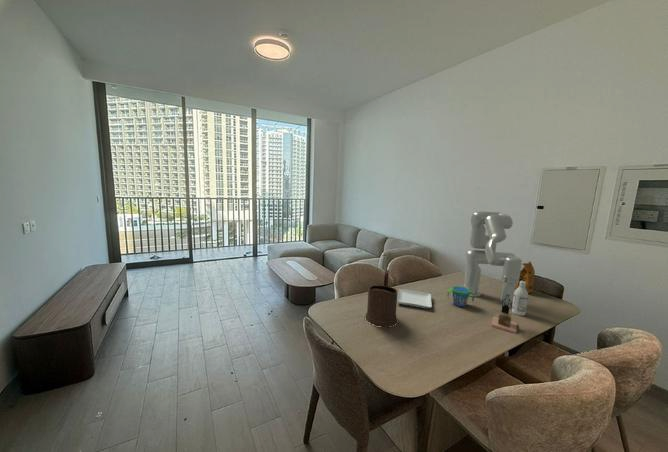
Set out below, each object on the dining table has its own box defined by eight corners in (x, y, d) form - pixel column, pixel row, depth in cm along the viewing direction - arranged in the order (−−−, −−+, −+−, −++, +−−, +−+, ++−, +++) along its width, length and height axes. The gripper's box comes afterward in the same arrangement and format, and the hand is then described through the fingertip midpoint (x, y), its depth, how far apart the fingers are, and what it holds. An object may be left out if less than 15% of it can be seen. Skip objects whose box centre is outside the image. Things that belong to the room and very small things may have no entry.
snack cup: (471, 303, 169) (473, 288, 167) (474, 310, 159) (476, 294, 157) (446, 298, 174) (447, 284, 173) (446, 305, 164) (448, 290, 163)
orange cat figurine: (511, 290, 193) (515, 261, 189) (519, 287, 199) (523, 259, 196) (526, 295, 184) (531, 265, 181) (534, 291, 191) (539, 263, 187)
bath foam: (527, 314, 156) (532, 282, 152) (521, 316, 152) (526, 284, 149) (515, 309, 162) (520, 279, 159) (508, 311, 159) (513, 280, 156)
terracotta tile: (491, 326, 141) (491, 324, 141) (493, 318, 150) (493, 316, 149) (516, 333, 135) (516, 331, 134) (516, 324, 143) (516, 322, 143)
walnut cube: (497, 323, 141) (499, 314, 140) (498, 319, 146) (499, 310, 145) (510, 327, 138) (511, 317, 137) (510, 323, 143) (511, 313, 142)
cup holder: (360, 323, 140) (363, 279, 136) (370, 305, 162) (372, 266, 158) (395, 331, 134) (399, 285, 130) (400, 310, 156) (403, 270, 152)
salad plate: (431, 312, 156) (432, 306, 156) (395, 305, 163) (396, 300, 162) (430, 297, 176) (431, 293, 175) (398, 293, 183) (399, 288, 182)
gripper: (502, 273, 147) (498, 301, 151) (500, 283, 133) (496, 313, 137) (518, 276, 143) (513, 305, 146) (518, 287, 129) (513, 318, 132)
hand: (505, 309), depth 141 cm, fingers open, 9 cm apart
